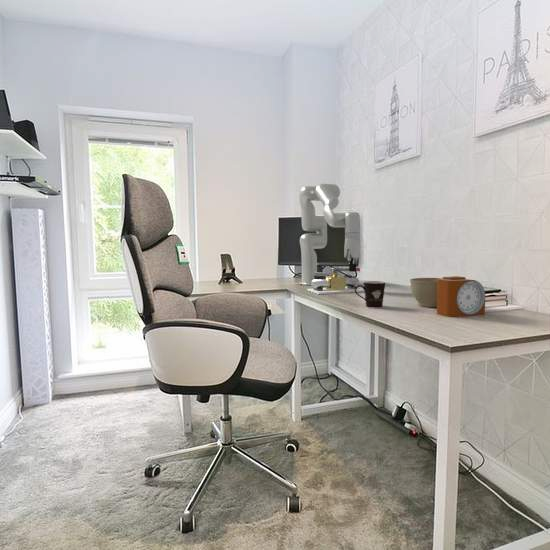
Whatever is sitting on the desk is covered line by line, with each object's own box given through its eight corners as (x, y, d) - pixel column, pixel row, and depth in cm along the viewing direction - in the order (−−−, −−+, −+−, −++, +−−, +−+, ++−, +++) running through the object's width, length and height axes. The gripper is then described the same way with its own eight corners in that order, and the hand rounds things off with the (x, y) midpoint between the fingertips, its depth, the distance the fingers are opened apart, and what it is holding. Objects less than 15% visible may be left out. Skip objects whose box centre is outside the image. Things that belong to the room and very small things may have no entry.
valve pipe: (310, 289, 203) (310, 272, 203) (353, 287, 211) (353, 270, 210) (315, 291, 197) (315, 273, 196) (360, 288, 204) (360, 271, 203)
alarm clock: (450, 317, 131) (451, 278, 130) (434, 313, 139) (435, 276, 138) (485, 314, 135) (486, 277, 134) (467, 310, 143) (468, 275, 142)
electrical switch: (332, 288, 217) (331, 272, 215) (328, 290, 213) (327, 273, 211) (317, 287, 222) (316, 271, 220) (313, 289, 218) (312, 273, 216)
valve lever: (331, 271, 201) (331, 268, 201) (331, 270, 205) (331, 267, 205) (360, 271, 199) (360, 268, 199) (359, 270, 203) (359, 267, 202)
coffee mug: (386, 305, 158) (386, 281, 157) (383, 308, 150) (383, 283, 149) (358, 303, 162) (358, 280, 162) (354, 307, 155) (354, 282, 154)
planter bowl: (435, 301, 164) (436, 276, 164) (461, 308, 149) (462, 280, 148) (402, 303, 161) (402, 278, 160) (424, 310, 145) (425, 282, 144)
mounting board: (307, 290, 207) (307, 288, 207) (351, 288, 214) (351, 286, 214) (318, 294, 192) (318, 292, 191) (366, 291, 199) (366, 289, 199)
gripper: (351, 236, 205) (351, 270, 206) (339, 236, 193) (340, 272, 194) (364, 236, 201) (364, 270, 202) (353, 235, 189) (353, 272, 190)
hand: (352, 271), depth 198 cm, fingers closed
